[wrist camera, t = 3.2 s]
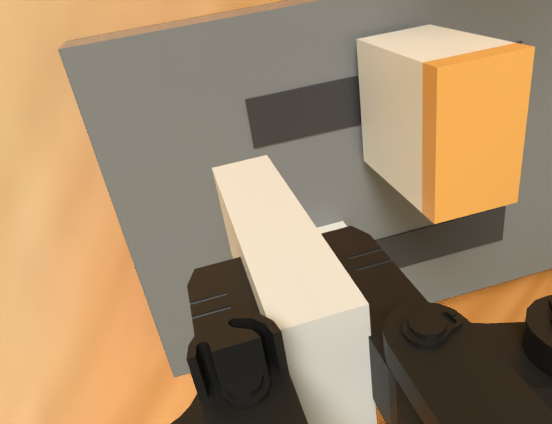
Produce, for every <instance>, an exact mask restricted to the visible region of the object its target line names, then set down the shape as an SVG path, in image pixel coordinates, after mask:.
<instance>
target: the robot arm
mask: <svg viewBox="0 0 552 424" xmlns="http://www.w3.org/2000/svg"><path fill="white" fill-rule="evenodd" d="M212 171H213V175H214V179H215V184H216V188H217V192H218V197H219V201H220V206H221V210H222V214H223V219H224V223H225V227H226V232H227V236H228V240H229V245H230V249H231V253H232V257H233V259H230V260H226V261H223V262H219V263H215V264H211V265H208V266H204V267H200V268H196V269H194V271H193V273H192V276H191V278H190V280H189V282H188V285H187V289H188V296H189V302H190V309H191V316H192V322H193V329H194V335H195V336H194V337H193V339H192V340H191V342H190V343H189V345H188V351H187V358H186V360H187V363H188V366H189V369H190V372H191V375H192V378H193V381H194V384H195V387H196V390H197V395H196V397H195V399H194V400H193V402H192V404H191V405H190V407H189V408H188V409H187V410H186V411H185V412H184V413H183V414H182V415H181V416H180V417H179V418H178V419H176V420H175V421H174V422H172V423H171V424H377V418H376V405H377V407H378V409H379V411H380V413H381V414H382V416H383V418H384V420H385V422H386V424H552V295H549V296H546V297H543V298H540V299H538V300H535V301H534V302H533V303H532V304H531V305H530V306H529V307H528V308H527V313H526V320H525V322H515V323H490V324H484V323H470V322H469V321H468V320H467V319H466V318H465V317H463V316H462V315H461V314H460V313H458V312H457V311H456V310H454V309H452V308H449V307H446V306H444V305H441V304H437V303H429V302H428V301H427V300H426V299H425V298H424V296H423V295H422V294H421V293H420V292H419V291H418V289H417V288H416V287H415V286H414V285H413V284H412V283H411V281H410V280H409V279H408V278H407V277H406V276H405V274H404V273H403V272H402V271H401V270H400V269H399V268H398V266H397V265H396V264H395V263H394V262H392V261H391V258H390V257H389V256H388V255H387V254H386V253H385V251H384V250H383V251H382V249H381V247H380V246H379V244H378V243H377V242H376V241H375V240H374V239H373V238H372V236H371V235H370V234H368V233H366V232H364V231H362V230H359V229H357V228H355V227H353V226H348V227H344V228H340V229H337V230H333V231H329V232H325V233H322V234H321V233H320V232H319V230H318V229H317V227H316V226H315V225H314V223H313V222H312V220H311V219H310V217H309V216H308V214H307V213H306V211H305V210H304V208H303V207H302V206H301V204H300V203H299V201H298V200H297V198H296V197H295V195H294V194H293V192H292V191H291V189H290V188H289V187H288V185H287V184H286V182H285V181H284V179H283V178H282V176H281V175H280V173H279V172H278V171H277V169H276V168H275V166H274V165H273V163H272V162H271V160H270V159H269V157H268V156H267V155H264V156H260V157H256V158H252V159H247V160H243V161H239V162H235V163H230V164H226V165H222V166H218V167H213V168H212Z"/></svg>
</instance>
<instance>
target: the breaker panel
mask: <svg viewBox="0 0 552 424" xmlns="http://www.w3.org/2000/svg"><path fill="white" fill-rule="evenodd" d="M429 24H430V25H435V26H439V27H444V28H449V29H454V30H458V31H463V32H468V33H472V34H477V35H482V36H487V37H491V38H496V39H501V40H505V41H510V42H515V43H520V44H524V45H529V46H534V47H535V52H534V61H533V70H532V79H531V88H530V96H529V105H528V114H527V123H526V132H525V140H524V149H523V158H522V167H521V176H520V184H519V193H518V202H517V203H513V204H509V205H505V206H502V207H498V208H494V209H490V210H487V211H483V212H479V213H475V214H471V215H468V216H464V217H460V218H456V219H452V220H449V221H445V222H441V223H437V224H434V223H433V222H431V221H430V220H429V219H428V218H427V217H426V216H425V215H424V214H423V213H421V212H420V211H419V210H418V209H417V208H416V207H415V206H414V205H413V204H411V203H410V202H409V201H408V200H407V199H406V198H405V197H404V196H403V195H401V194H400V193H399V192H398V191H397V190H396V189H395V188H394V187H393V186H391V185H390V184H389V183H388V182H387V181H386V180H385V179H384V178H383V177H381V176H380V175H379V174H378V173H377V172H376V171H375V170H374V169H372V168H371V167H370V166H369V165H368V164H367V163H366V162H365V161H364V156H363V139H362V123H361V106H360V90H359V74H358V57H357V41H356V39H359V38H364V37H369V36H374V35H379V34H384V33H389V32H394V31H399V30H404V29H409V28H414V27H419V26H424V25H429ZM58 51H59V53H60V56H61V59H62V62H63V65H64V68H65V70H66V73H67V76H68V79H69V82H70V85H71V87H72V90H73V93H74V96H75V99H76V102H77V104H78V107H79V110H80V113H81V116H82V118H83V121H84V124H85V127H86V130H87V133H88V135H89V138H90V141H91V144H92V147H93V150H94V152H95V155H96V158H97V161H98V164H99V167H100V169H101V172H102V175H103V178H104V181H105V183H106V186H107V189H108V192H109V195H110V198H111V200H112V203H113V206H114V209H115V212H116V215H117V217H118V220H119V223H120V226H121V229H122V232H123V234H124V237H125V240H126V243H127V246H128V249H129V251H130V254H131V257H132V260H133V263H134V265H135V268H136V271H137V274H138V277H139V280H140V282H141V285H142V288H143V291H144V294H145V297H146V299H147V302H148V305H149V308H150V311H151V314H152V316H153V319H154V322H155V325H156V328H157V330H158V333H159V336H160V339H161V342H162V345H163V347H164V350H165V353H166V356H167V359H168V362H169V364H170V367H171V370H172V373H173V376H174V377H178V376H181V375H185V374H188V373H191V372H190V369H189V366H188V363H187V360H186V358H187V351H188V345H189V343H190V342H191V340H192V339H193V337H194V336H195V335H194V329H193V322H192V316H191V309H190V302H189V296H188V289H187V285H188V282H189V280H190V278H191V276H192V273H193V271H194V269H196V268H200V267H204V266H208V265H211V264H215V263H219V262H223V261H226V260H230V259H233V257H232V253H231V249H230V245H229V240H228V236H227V232H226V227H225V223H224V219H223V214H222V210H221V206H220V201H219V197H218V192H217V188H216V184H215V179H214V175H213V171H212V168H213V167H218V166H222V165H226V164H230V163H235V162H239V161H243V160H247V159H252V158H256V157H260V156H264V155H267V156H268V157H269V159H270V160H271V162H272V163H273V165H274V166H275V168H276V169H277V171H278V172H279V173H280V175H281V176H282V178H283V179H284V181H285V182H286V184H287V185H288V187H289V188H290V189H291V191H292V192H293V194H294V195H295V197H296V198H297V200H298V201H299V203H300V204H301V206H302V207H303V208H304V210H305V211H306V213H307V214H308V216H309V217H310V219H311V220H312V222H313V223H314V225H315V226H316V227H317V229H318V230H319V232H320V233H321V234H322V233H325V232H329V231H333V230H337V229H340V228H344V227H348V226H353V227H355V228H357V229H359V230H362V231H364V232H366V233H368V234H370V235H371V236H372V238H373V239H374V240H375V241H376V242H377V243H378V244H379V246H380V247H381V249H382V251H383V250H384V251H385V253H386V254H387V255H388V256H389V257H390V258H391V261H392V262H394V263H395V264H396V265H397V266H398V268H399V269H400V270H401V271H402V272H403V273H404V274H405V276H406V277H407V278H408V279H409V280H410V281H411V283H412V284H413V285H414V286H415V287H416V288H417V289H418V291H419V292H420V293H421V294H422V295H423V296H424V298H425V299H426V300H427V301H428V302H429V303H434V302H438V301H441V300H445V299H448V298H451V297H455V296H458V295H462V294H465V293H469V292H472V291H476V290H479V289H483V288H486V287H490V286H493V285H497V284H500V283H503V282H507V281H510V280H514V279H517V278H521V277H524V276H528V275H531V274H535V273H538V272H542V271H545V270H549V269H552V0H287V1H282V2H276V3H271V4H265V5H260V6H255V7H249V8H244V9H238V10H233V11H228V12H222V13H217V14H211V15H206V16H201V17H195V18H190V19H184V20H179V21H173V22H168V23H163V24H157V25H152V26H146V27H141V28H136V29H130V30H125V31H119V32H114V33H109V34H103V35H98V36H92V37H87V38H81V39H76V40H71V41H66V42H65V43H64V44H63V45H62V46H61V47H60V48H59V49H58Z"/></svg>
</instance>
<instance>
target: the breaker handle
mask: <svg viewBox="0 0 552 424" xmlns="http://www.w3.org/2000/svg"><path fill="white" fill-rule="evenodd" d="M356 41H357V57H358V74H359V90H360V106H361V123H362V139H363V156H364V161H365V162H366V163H367V164H368V165H369V166H370V167H371V168H372V169H374V170H375V171H376V172H377V173H378V174H379V175H380V176H381V177H383V178H384V179H385V180H386V181H387V182H388V183H389V184H390V185H391V186H393V187H394V188H395V189H396V190H397V191H398V192H399V193H400V194H401V195H403V196H404V197H405V198H406V199H407V200H408V201H409V202H410V203H411V204H413V205H414V206H415V207H416V208H417V209H418V210H419V211H420V212H421V213H423V214H424V215H425V216H426V217H427V218H428V219H429V220H430V221H431V222H433V223H434V224H437V223H441V222H445V221H449V220H452V219H456V218H460V217H464V216H468V215H471V214H475V213H479V212H483V211H487V210H490V209H494V208H498V207H502V206H505V205H509V204H513V203H517V202H518V193H519V184H520V176H521V167H522V158H523V149H524V140H525V132H526V123H527V114H528V105H529V96H530V88H531V79H532V70H533V61H534V52H535V47H534V46H529V45H524V44H520V43H515V42H510V41H505V40H501V39H496V38H491V37H487V36H482V35H477V34H472V33H468V32H463V31H458V30H454V29H449V28H444V27H439V26H435V25H430V24H429V25H424V26H419V27H414V28H409V29H404V30H399V31H394V32H389V33H384V34H379V35H374V36H369V37H364V38H359V39H356Z"/></svg>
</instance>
